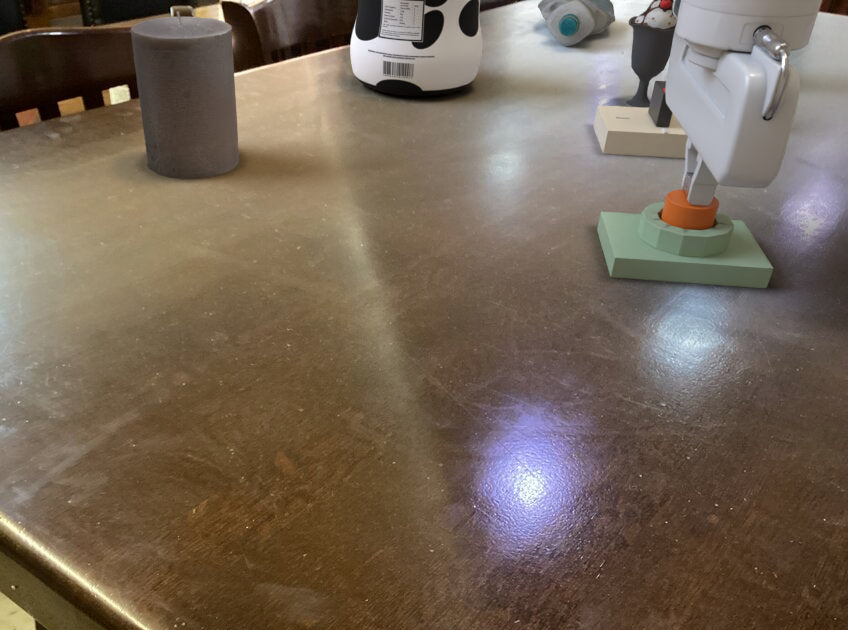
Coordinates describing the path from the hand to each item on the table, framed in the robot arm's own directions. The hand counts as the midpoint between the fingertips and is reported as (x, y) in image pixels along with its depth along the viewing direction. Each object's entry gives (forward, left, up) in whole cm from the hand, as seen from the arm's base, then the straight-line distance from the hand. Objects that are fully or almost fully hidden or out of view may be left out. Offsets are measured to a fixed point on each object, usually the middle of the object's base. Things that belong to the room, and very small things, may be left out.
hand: (694, 198), depth 65 cm
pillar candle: (+46, -15, -6) cm, 49 cm away
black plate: (-3, -29, -3) cm, 29 cm away
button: (0, 0, -2) cm, 2 cm away
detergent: (+1, -83, -6) cm, 83 cm away
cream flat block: (-3, -29, -6) cm, 30 cm away
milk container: (+25, -48, -6) cm, 55 cm away
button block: (0, 0, -6) cm, 6 cm away
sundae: (-4, -44, -6) cm, 45 cm away
